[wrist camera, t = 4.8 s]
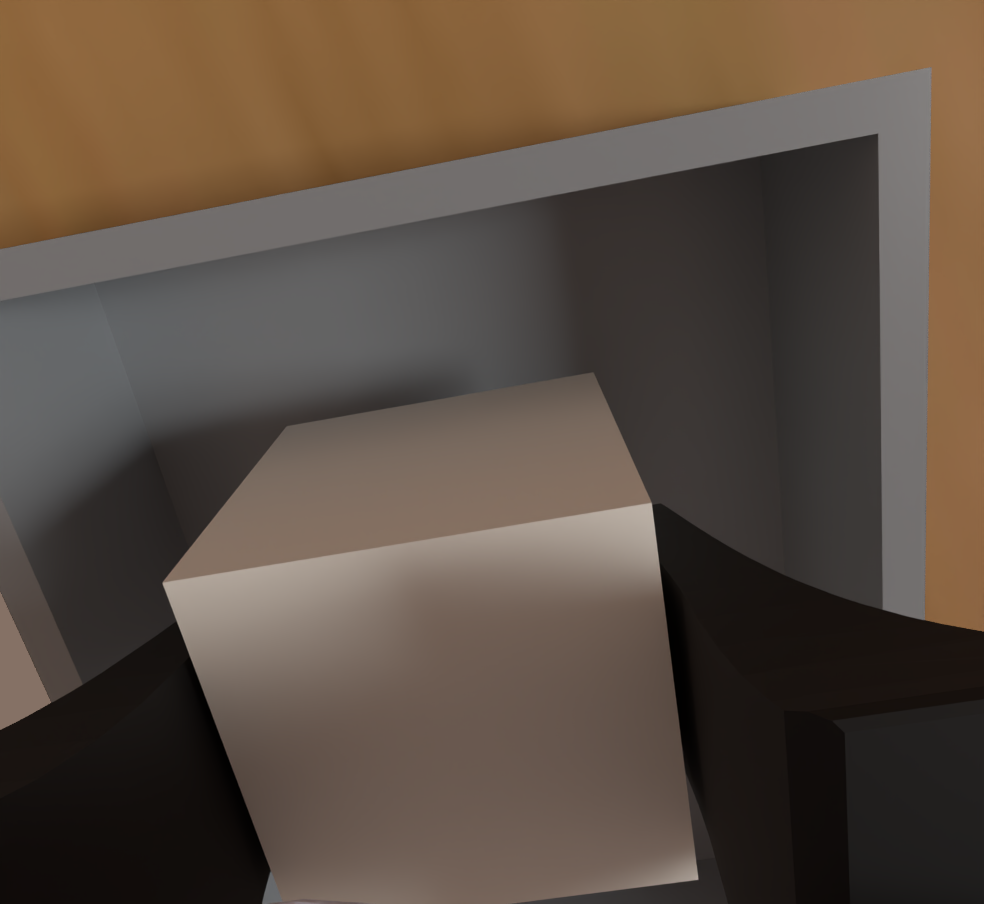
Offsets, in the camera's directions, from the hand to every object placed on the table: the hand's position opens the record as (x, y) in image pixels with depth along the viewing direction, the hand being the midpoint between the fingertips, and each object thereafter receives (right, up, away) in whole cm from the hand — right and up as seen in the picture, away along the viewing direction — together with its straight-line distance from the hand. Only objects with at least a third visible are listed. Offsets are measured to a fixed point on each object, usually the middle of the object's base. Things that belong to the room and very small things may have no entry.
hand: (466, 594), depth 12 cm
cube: (0, +1, +1) cm, 2 cm away
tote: (0, -1, +5) cm, 5 cm away
